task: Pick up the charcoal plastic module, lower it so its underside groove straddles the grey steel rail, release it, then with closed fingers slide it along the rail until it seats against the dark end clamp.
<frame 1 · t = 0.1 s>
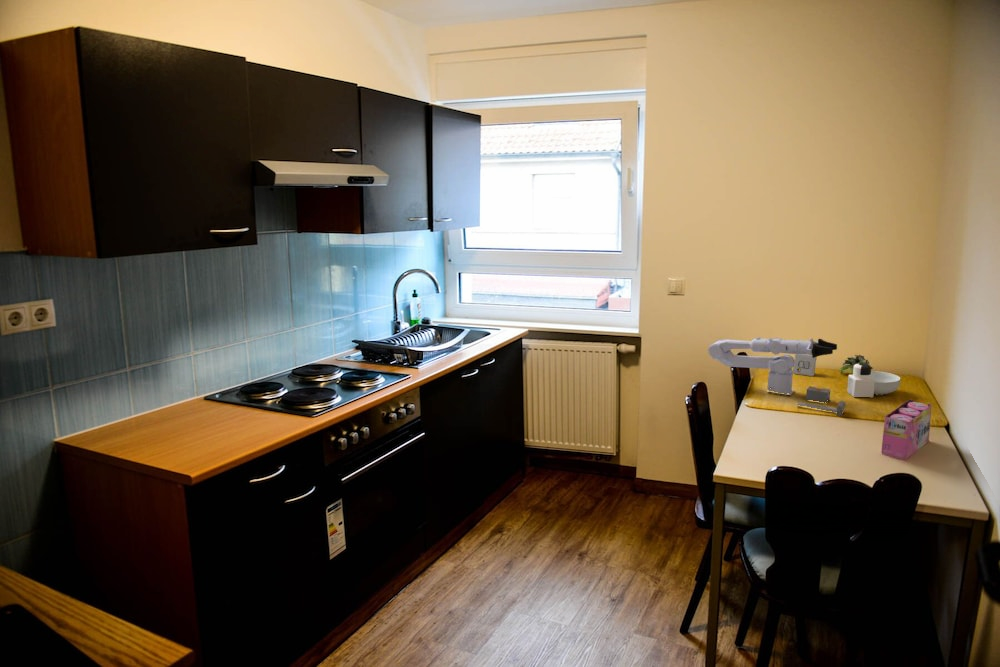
hand: (834, 349, 288), 22 cm above the table, tool horizontal, fingers open, 7 cm apart
gum box: (905, 448, 244), on the table
rail: (817, 409, 282), on the table
cereal bowl: (876, 392, 300), on the table, touching container
module: (817, 401, 292), on the table
electrical switch: (803, 374, 328), on the table
container: (860, 395, 297), on the table, touching cereal bowl
potted plant: (855, 375, 324), on the table
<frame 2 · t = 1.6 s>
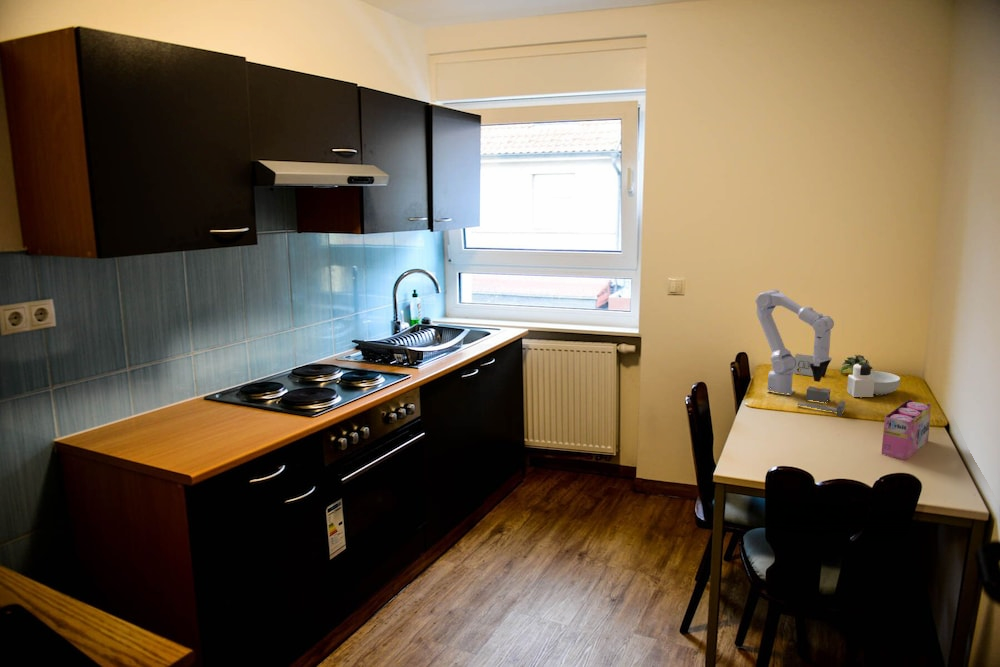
hand: (819, 378, 290), 9 cm above the table, tool pointing down, fingers open, 7 cm apart
cereal bowl: (875, 392, 300), on the table, touching container
everything else where it was.
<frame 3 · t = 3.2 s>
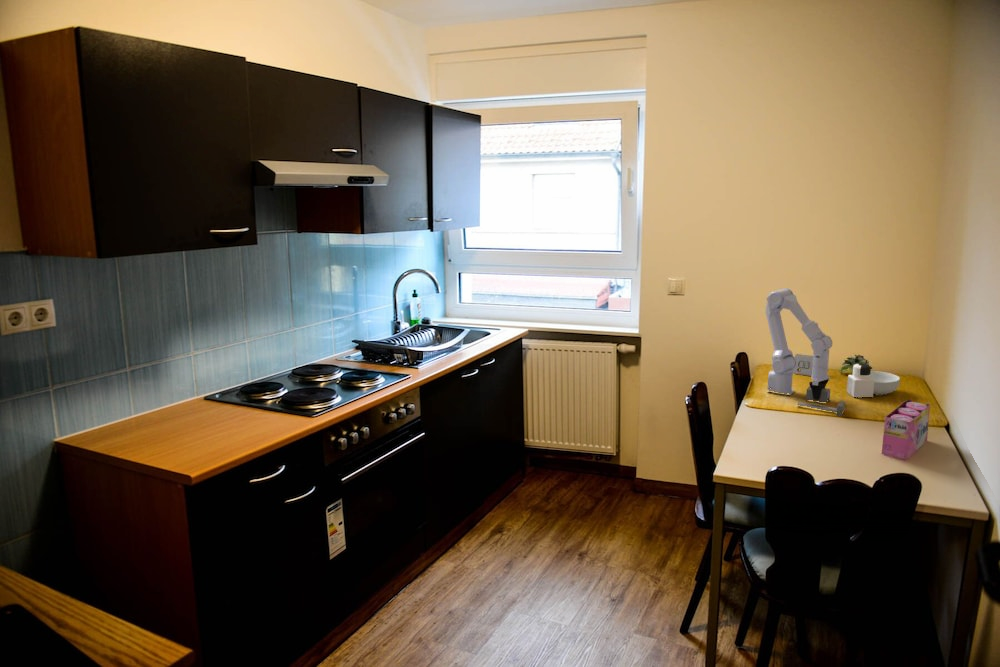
hand: (817, 397, 292), 1 cm above the table, tool pointing down, fingers closed on module, 5 cm apart
module: (817, 400, 292), on the table, touching gripper
everything else where it was.
when the fingers open (2 cm above the table, at t = 7.0 s): module stays where it is, resting in rail.
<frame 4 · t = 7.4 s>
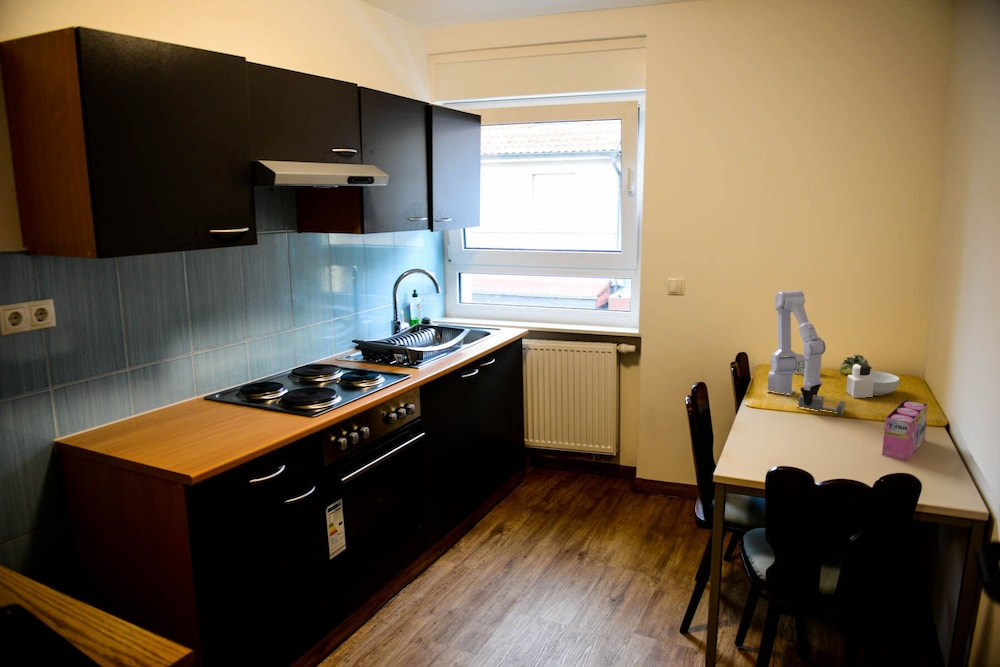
hand: (810, 402, 283), 2 cm above the table, tool pointing down, fingers open, 7 cm apart
module: (810, 408, 284), resting in rail
everything else where it was.
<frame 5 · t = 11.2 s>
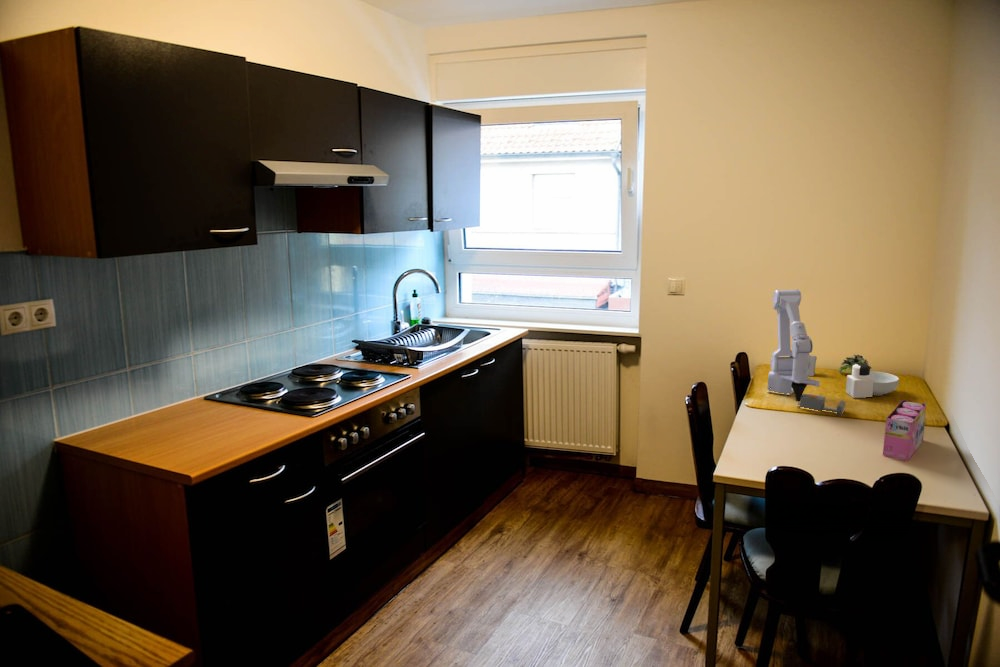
hand: (798, 400, 286), 2 cm above the table, tool pointing down, fingers closed
module: (811, 408, 283), resting in rail, touching gripper
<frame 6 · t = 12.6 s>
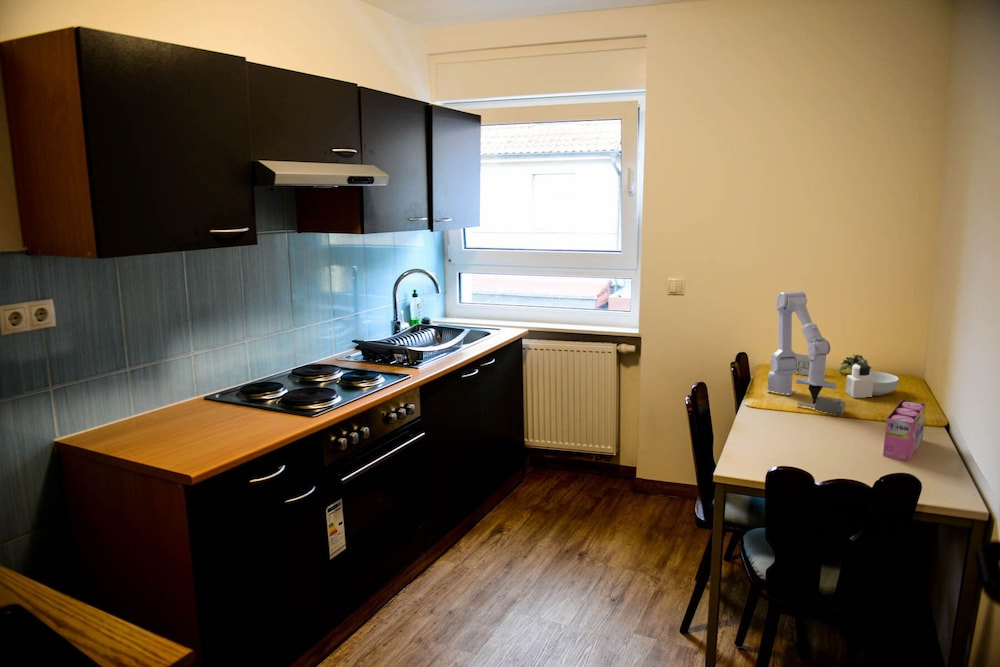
hand: (814, 403, 282), 2 cm above the table, tool pointing down, fingers closed
module: (827, 411, 280), resting in rail, touching gripper
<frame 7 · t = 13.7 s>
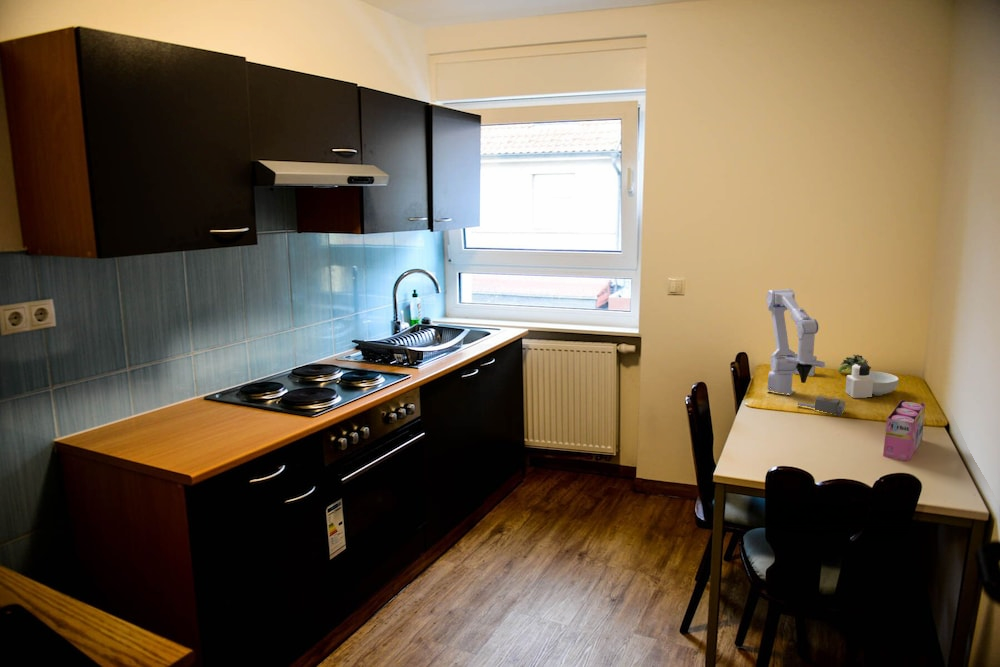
hand: (803, 382, 285), 10 cm above the table, tool pointing down, fingers closed
module: (826, 411, 280), resting in rail
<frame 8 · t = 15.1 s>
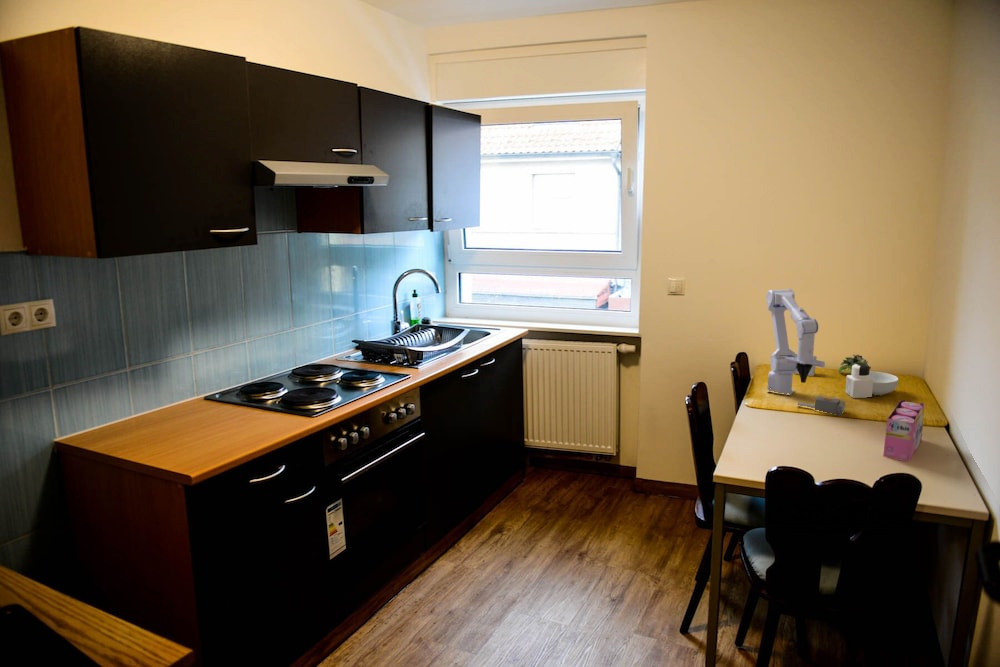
hand: (803, 382, 285), 10 cm above the table, tool pointing down, fingers closed
at the end: module 0.2 cm from the target spot on the rail, point 0.0 cm above the rail's base; module tilted 0° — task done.
